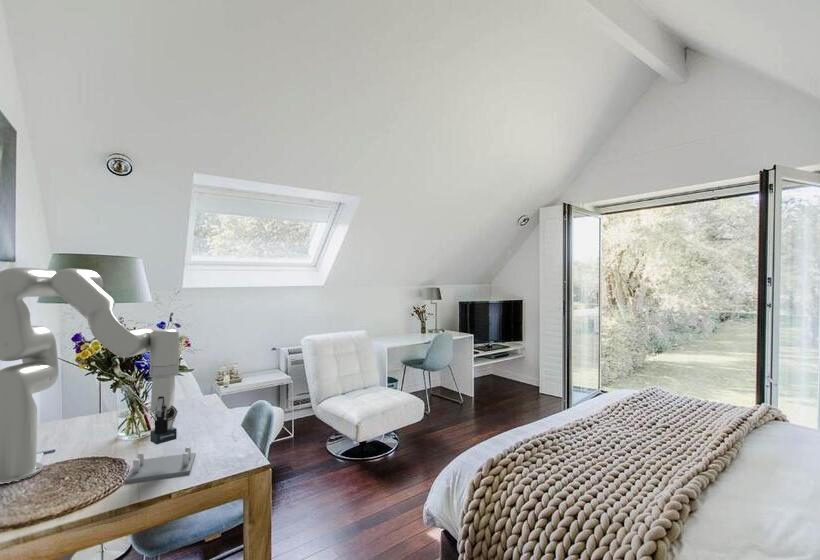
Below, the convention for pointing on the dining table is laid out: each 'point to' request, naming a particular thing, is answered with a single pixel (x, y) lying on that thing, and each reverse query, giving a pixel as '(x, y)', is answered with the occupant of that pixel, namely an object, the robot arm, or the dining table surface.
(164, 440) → the watch
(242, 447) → the dining table surface
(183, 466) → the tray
